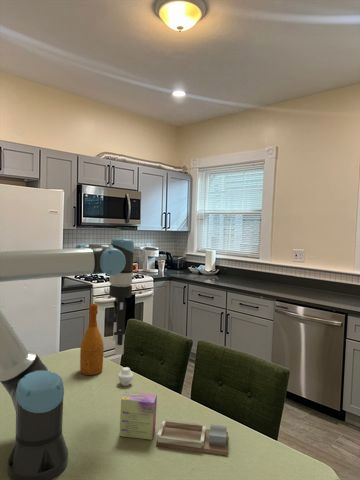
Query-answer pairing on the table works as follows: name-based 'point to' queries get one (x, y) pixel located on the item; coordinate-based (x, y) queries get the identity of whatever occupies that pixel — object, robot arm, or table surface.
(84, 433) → the table surface
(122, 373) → the white ribbed rounded piece
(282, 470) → the table surface
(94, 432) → the table surface
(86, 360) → the wine bottle
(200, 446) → the shallow tray
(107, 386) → the table surface
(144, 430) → the box
